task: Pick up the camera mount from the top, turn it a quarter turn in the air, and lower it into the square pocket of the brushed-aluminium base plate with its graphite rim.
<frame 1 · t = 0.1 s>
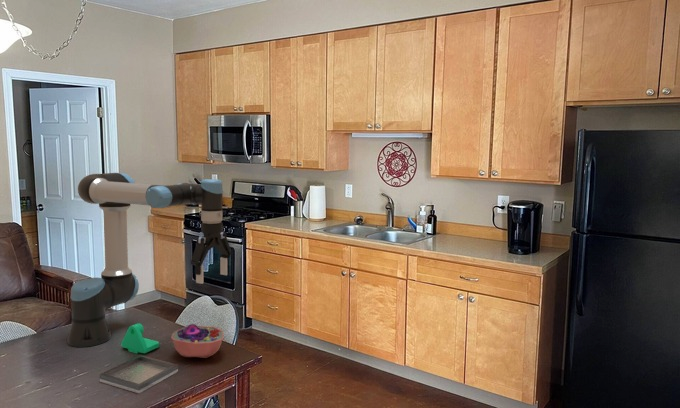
hand: (212, 278, 183), 28 cm above the table, tool pointing down, fingers open, 13 cm apart
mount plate: (139, 376, 164), on the table
camera mount: (141, 349, 187), on the table
cell model: (198, 356, 182), on the table
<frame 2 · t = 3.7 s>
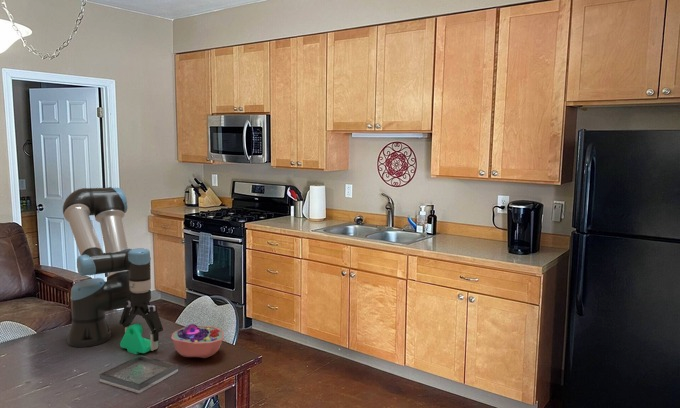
hand: (141, 346, 186), 1 cm above the table, tool pointing down, fingers closed on camera mount, 12 cm apart
camera mount: (140, 349, 186), on the table, touching gripper
everything else where it was.
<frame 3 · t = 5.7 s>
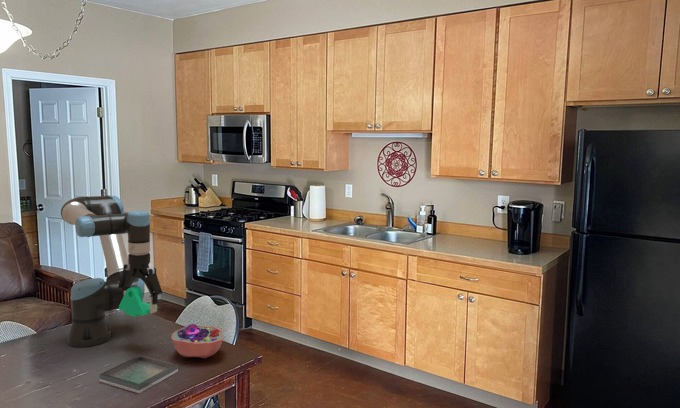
hand: (140, 309, 185), 15 cm above the table, tool pointing down, fingers closed on camera mount, 12 cm apart
camera mount: (139, 313, 185), point 14 cm above the table, touching gripper
everything else where it was.
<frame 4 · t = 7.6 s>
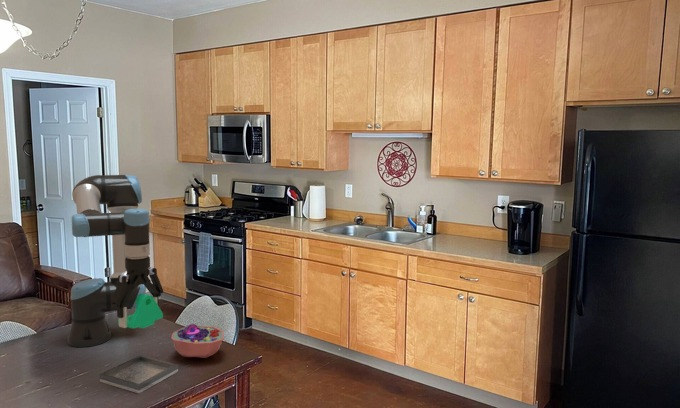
hand: (139, 321, 163), 19 cm above the table, tool pointing down, fingers closed on camera mount, 12 cm apart
camera mount: (140, 324, 163), point 18 cm above the table, touching gripper
everything else where it was.
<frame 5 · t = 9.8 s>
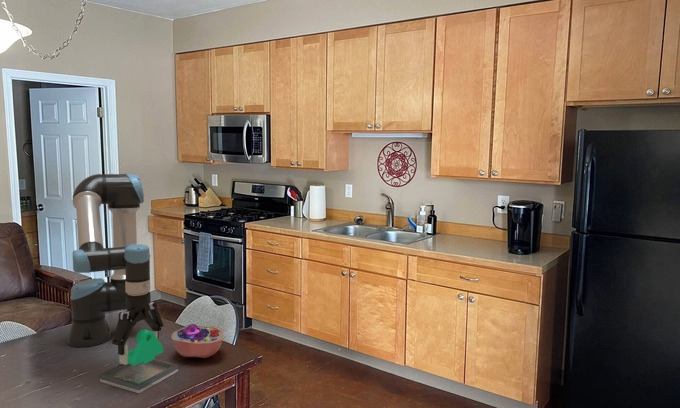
hand: (139, 356, 163), 7 cm above the table, tool pointing down, fingers closed on camera mount, 12 cm apart
camera mount: (140, 359, 163), point 6 cm above the table, touching gripper
everything else where it was.
when the fingers open (4 cm above the table, at t = 11.5 s): camera mount drops 2 cm, resting on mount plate.
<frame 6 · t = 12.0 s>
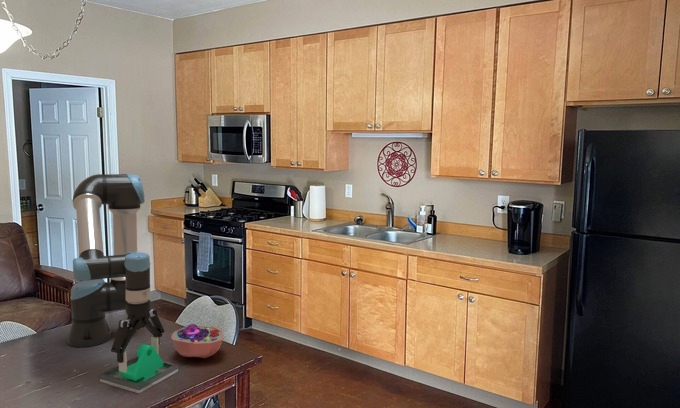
hand: (139, 363, 164), 5 cm above the table, tool pointing down, fingers open, 13 cm apart
camera mount: (141, 374, 164), point 1 cm above the table, touching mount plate
everything else where it was.
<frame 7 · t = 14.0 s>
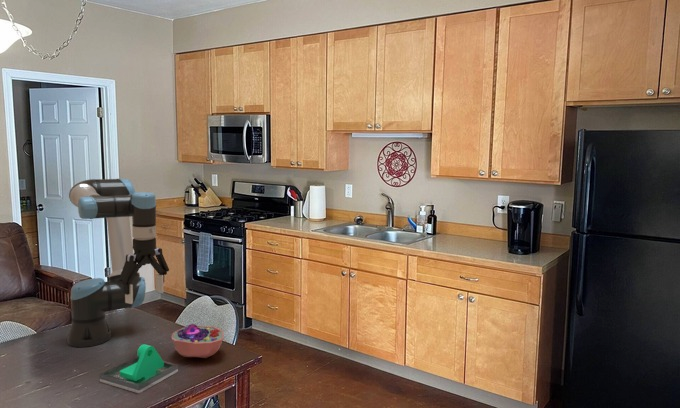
hand: (145, 297, 172), 24 cm above the table, tool pointing down, fingers open, 13 cm apart
nothing on the table moved.
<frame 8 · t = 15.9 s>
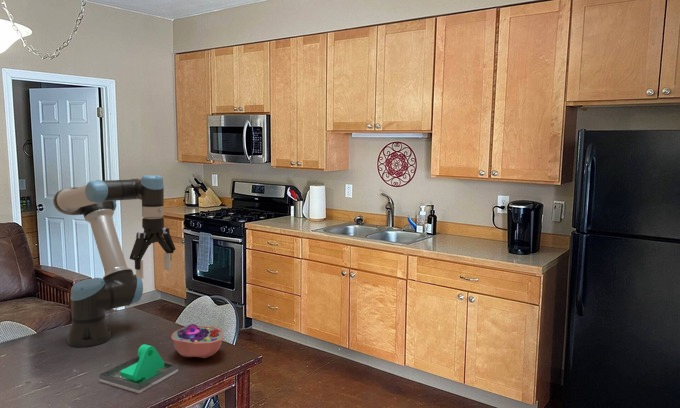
hand: (154, 273, 184), 29 cm above the table, tool pointing down, fingers open, 13 cm apart
nothing on the table moved.
at the end: camera mount 1.0 cm off-centre on the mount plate, point 0.8 cm above the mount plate's base; camera mount tilted 0°; the gripper is holding nothing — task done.
